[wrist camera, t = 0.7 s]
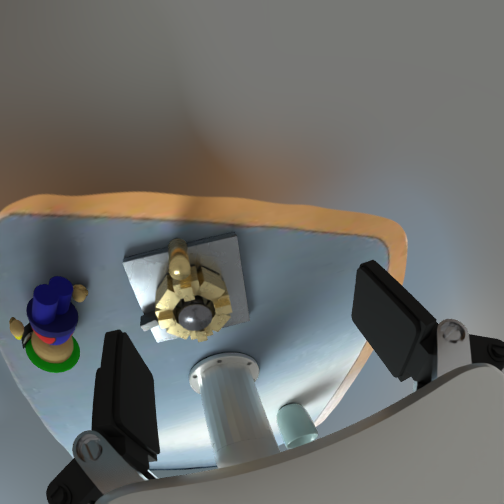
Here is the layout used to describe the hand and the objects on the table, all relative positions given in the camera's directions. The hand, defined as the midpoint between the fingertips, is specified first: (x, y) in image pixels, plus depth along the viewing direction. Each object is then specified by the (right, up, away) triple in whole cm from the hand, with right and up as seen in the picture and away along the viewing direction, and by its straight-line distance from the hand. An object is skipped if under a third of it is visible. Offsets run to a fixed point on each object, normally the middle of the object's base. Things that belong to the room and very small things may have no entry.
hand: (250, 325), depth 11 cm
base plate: (-8, -2, +26) cm, 28 cm away
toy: (-27, -5, +22) cm, 36 cm away
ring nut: (-8, -1, +24) cm, 25 cm away
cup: (+9, -35, +51) cm, 62 cm away
